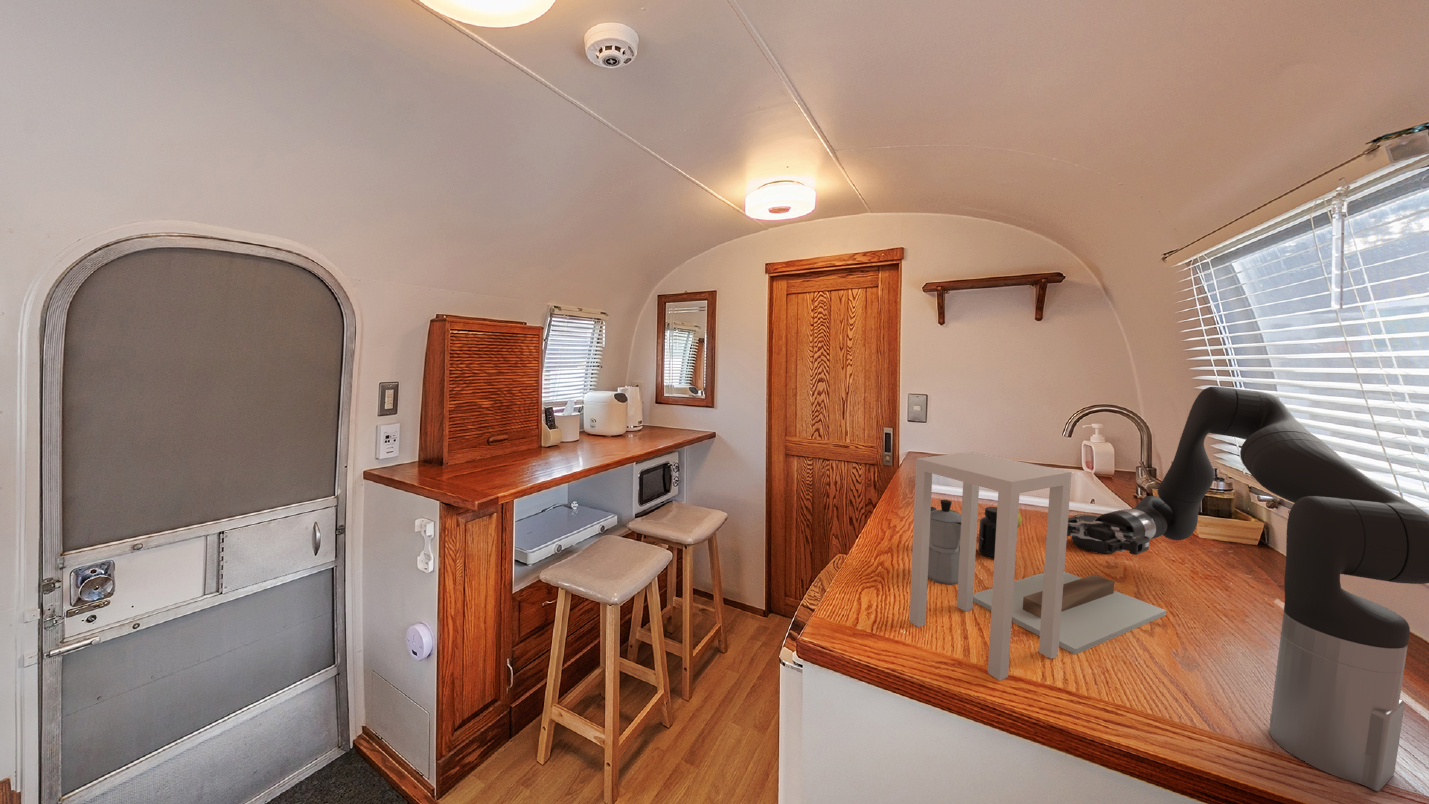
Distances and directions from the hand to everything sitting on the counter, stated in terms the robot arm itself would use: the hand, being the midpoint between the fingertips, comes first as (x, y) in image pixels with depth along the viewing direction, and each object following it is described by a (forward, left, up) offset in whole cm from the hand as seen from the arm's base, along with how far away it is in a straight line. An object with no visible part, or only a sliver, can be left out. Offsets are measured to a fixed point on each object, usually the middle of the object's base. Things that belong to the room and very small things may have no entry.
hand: (1081, 539), depth 95 cm
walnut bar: (0, +3, -12) cm, 13 cm away
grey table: (0, +30, -14) cm, 33 cm away
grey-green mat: (0, +4, -14) cm, 14 cm away
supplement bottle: (+23, -7, -14) cm, 28 cm away
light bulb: (+27, -18, -14) cm, 35 cm away
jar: (+15, -36, -14) cm, 41 cm away
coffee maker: (+21, +15, -14) cm, 29 cm away
